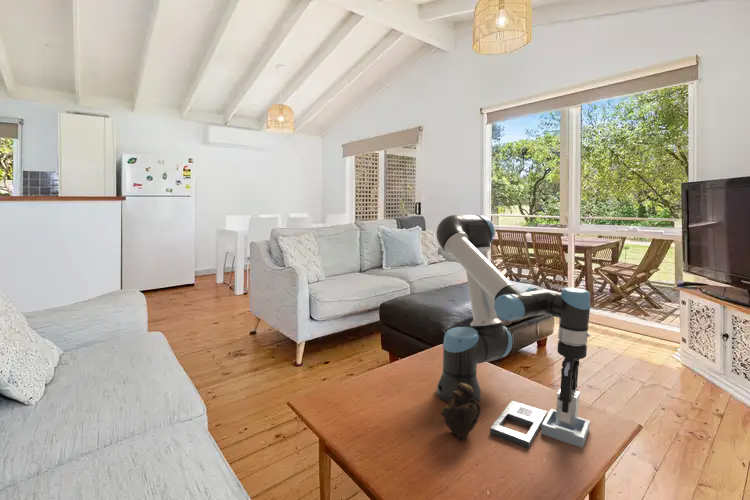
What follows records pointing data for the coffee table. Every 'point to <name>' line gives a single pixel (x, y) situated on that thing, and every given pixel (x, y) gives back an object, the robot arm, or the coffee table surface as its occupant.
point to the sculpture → (461, 411)
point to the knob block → (574, 411)
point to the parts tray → (565, 430)
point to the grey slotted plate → (522, 416)
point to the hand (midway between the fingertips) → (566, 416)
